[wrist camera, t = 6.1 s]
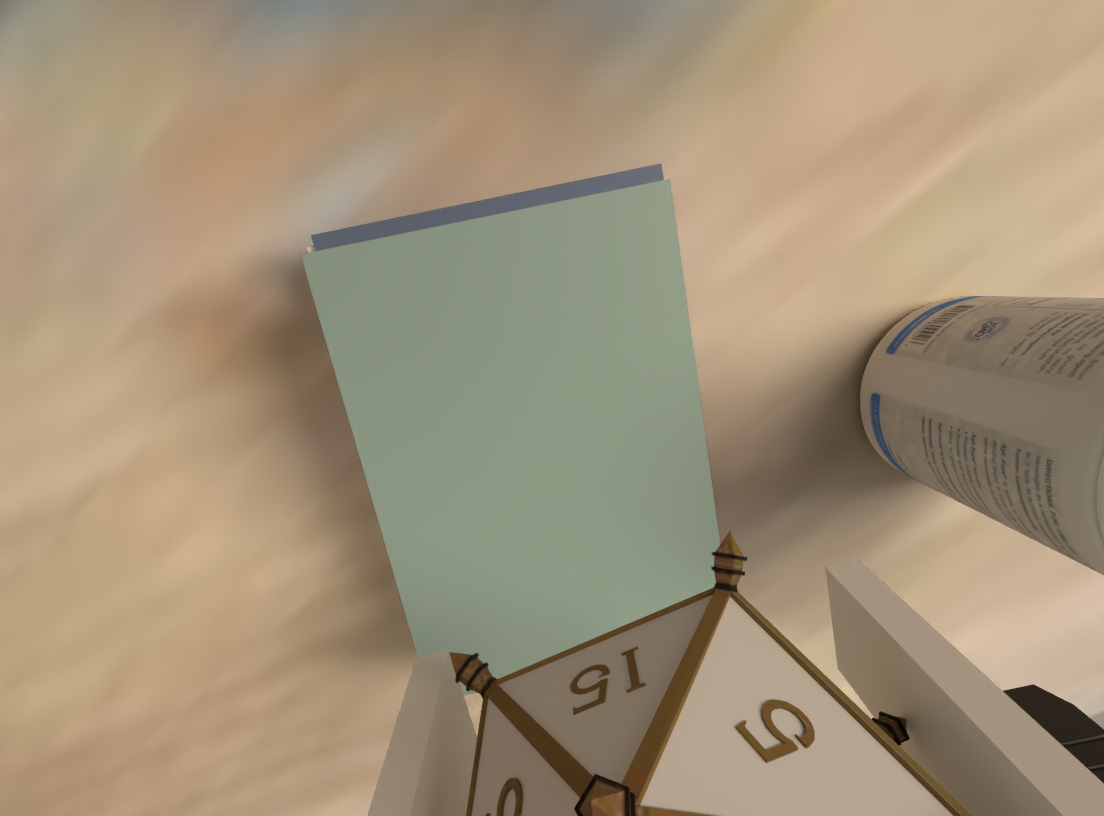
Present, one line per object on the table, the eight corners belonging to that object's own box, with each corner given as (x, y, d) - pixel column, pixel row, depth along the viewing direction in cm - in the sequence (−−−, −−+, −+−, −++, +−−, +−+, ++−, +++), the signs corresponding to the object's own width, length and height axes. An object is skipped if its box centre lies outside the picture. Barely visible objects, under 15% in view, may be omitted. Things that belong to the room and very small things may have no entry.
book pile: (327, 241, 27) (268, 231, 21) (647, 176, 26) (679, 147, 20) (438, 640, 32) (416, 723, 26) (707, 588, 31) (747, 660, 26)
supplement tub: (997, 484, 31) (1407, 668, 16) (830, 463, 30) (1100, 633, 16) (1057, 305, 28) (1591, 333, 14) (878, 278, 28) (1244, 280, 13)
